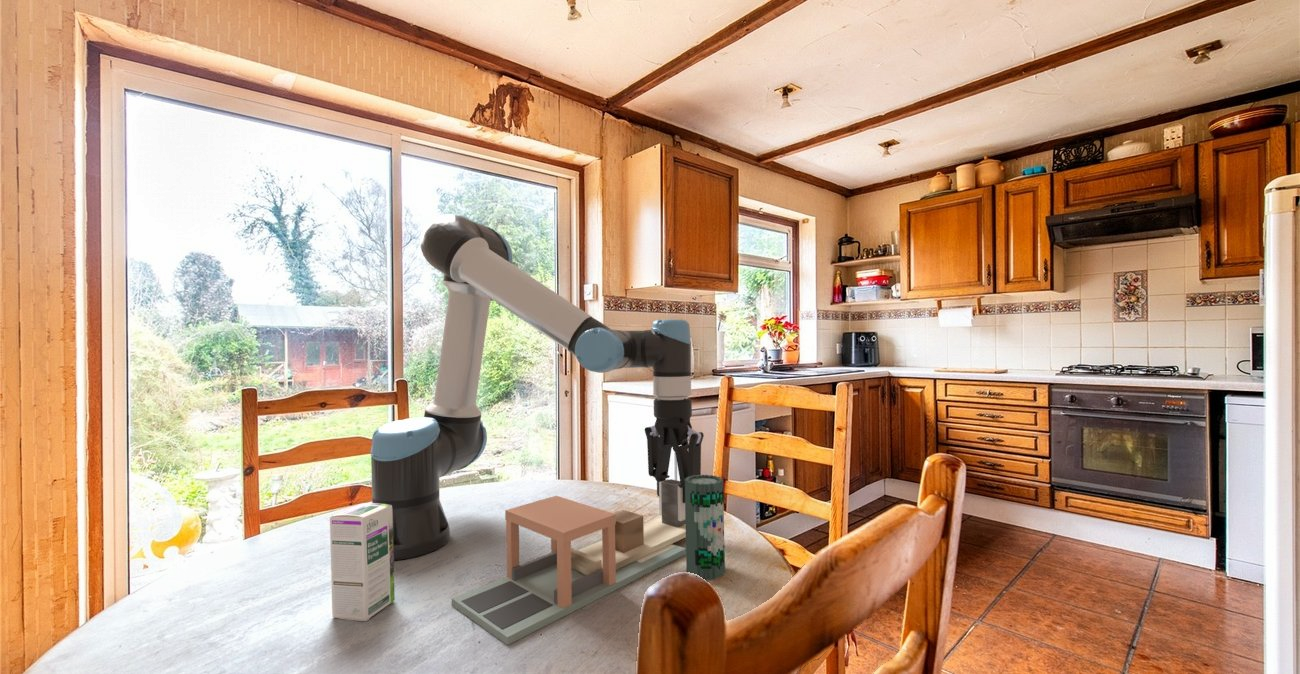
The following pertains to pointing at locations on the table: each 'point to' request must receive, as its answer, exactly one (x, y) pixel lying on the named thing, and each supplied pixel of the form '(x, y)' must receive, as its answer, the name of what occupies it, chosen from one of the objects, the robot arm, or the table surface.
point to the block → (628, 531)
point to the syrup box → (362, 561)
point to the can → (704, 526)
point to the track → (552, 570)
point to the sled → (655, 536)
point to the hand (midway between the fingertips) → (674, 515)
